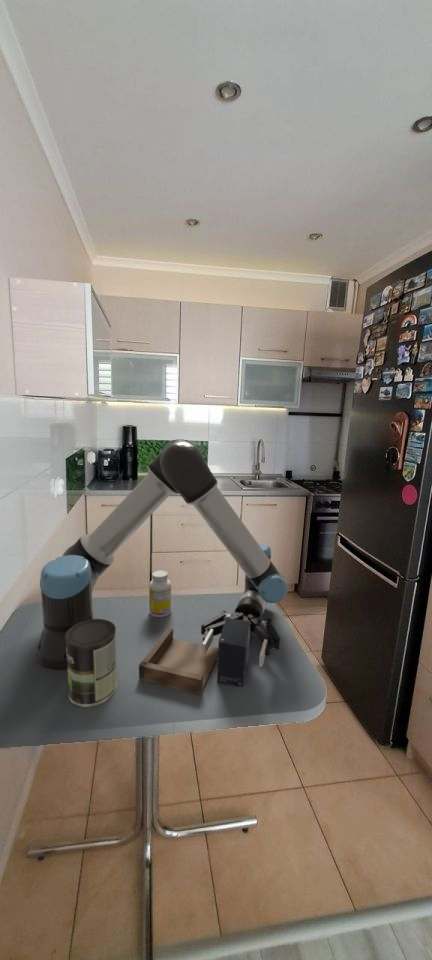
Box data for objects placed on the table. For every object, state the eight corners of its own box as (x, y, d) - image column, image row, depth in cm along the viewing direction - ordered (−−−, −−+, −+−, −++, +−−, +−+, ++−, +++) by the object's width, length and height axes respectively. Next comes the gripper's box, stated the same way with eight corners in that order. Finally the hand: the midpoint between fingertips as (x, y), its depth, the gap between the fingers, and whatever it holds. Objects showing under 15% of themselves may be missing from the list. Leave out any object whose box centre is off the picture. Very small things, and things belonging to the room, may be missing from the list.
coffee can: (69, 714, 74) (65, 651, 72) (67, 680, 84) (64, 623, 81) (120, 699, 78) (119, 639, 76) (114, 668, 88) (112, 614, 85)
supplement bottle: (153, 606, 117) (152, 568, 114) (173, 607, 116) (173, 569, 114) (146, 617, 110) (146, 577, 108) (168, 619, 109) (167, 579, 107)
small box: (244, 688, 82) (246, 645, 80) (216, 683, 84) (217, 641, 82) (249, 658, 92) (251, 620, 91) (224, 654, 94) (225, 616, 92)
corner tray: (139, 679, 84) (138, 665, 84) (168, 639, 99) (168, 627, 99) (200, 694, 80) (200, 680, 79) (220, 650, 95) (221, 638, 94)
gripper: (294, 629, 101) (285, 682, 81) (208, 614, 108) (181, 658, 88) (295, 604, 100) (287, 651, 80) (208, 590, 107) (181, 630, 87)
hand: (231, 655), depth 84 cm, fingers open, 13 cm apart
